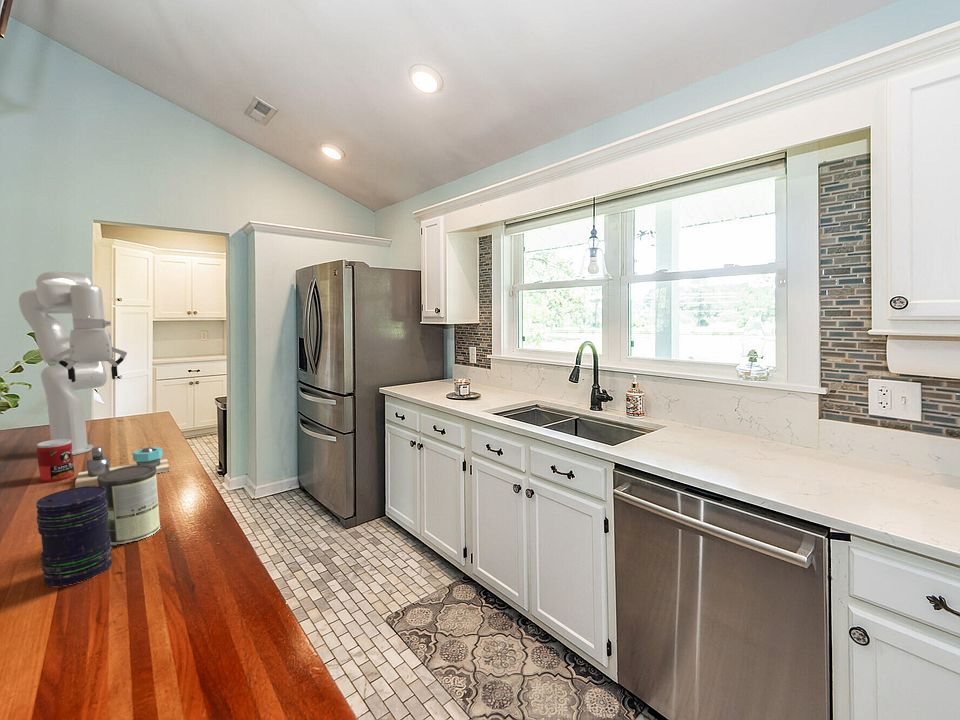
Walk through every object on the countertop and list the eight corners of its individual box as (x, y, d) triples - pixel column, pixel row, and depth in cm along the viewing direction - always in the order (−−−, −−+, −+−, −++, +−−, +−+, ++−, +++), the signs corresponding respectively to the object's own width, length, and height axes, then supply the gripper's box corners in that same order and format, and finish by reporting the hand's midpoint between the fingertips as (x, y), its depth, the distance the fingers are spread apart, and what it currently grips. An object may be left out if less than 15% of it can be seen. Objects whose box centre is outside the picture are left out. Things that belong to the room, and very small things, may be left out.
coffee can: (90, 547, 96) (84, 481, 95) (124, 524, 106) (118, 465, 105) (142, 544, 97) (137, 479, 96) (170, 522, 107) (166, 464, 106)
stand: (88, 473, 137) (86, 447, 136) (110, 470, 140) (108, 444, 139) (87, 478, 133) (85, 451, 132) (109, 474, 136) (107, 448, 135)
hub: (136, 465, 144) (135, 448, 144) (160, 461, 148) (158, 444, 147) (136, 470, 140) (135, 452, 139) (160, 466, 143) (159, 449, 143)
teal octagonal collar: (130, 459, 142) (129, 451, 142) (155, 453, 148) (154, 446, 148) (140, 463, 139) (140, 455, 138) (166, 456, 145) (165, 449, 144)
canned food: (54, 483, 133) (50, 446, 132) (32, 481, 135) (28, 445, 134) (81, 474, 141) (78, 439, 140) (60, 472, 142) (57, 438, 141)
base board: (79, 477, 138) (78, 472, 138) (167, 462, 151) (167, 458, 151) (75, 488, 129) (74, 483, 129) (169, 471, 142) (169, 467, 142)
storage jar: (109, 553, 94) (103, 482, 92) (116, 572, 87) (109, 495, 85) (42, 572, 87) (34, 495, 85) (43, 594, 80) (35, 511, 78)
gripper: (124, 324, 150) (128, 376, 152) (53, 325, 140) (58, 381, 141) (124, 325, 144) (128, 379, 146) (49, 326, 134) (55, 384, 135)
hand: (94, 380), depth 144 cm, fingers open, 9 cm apart
